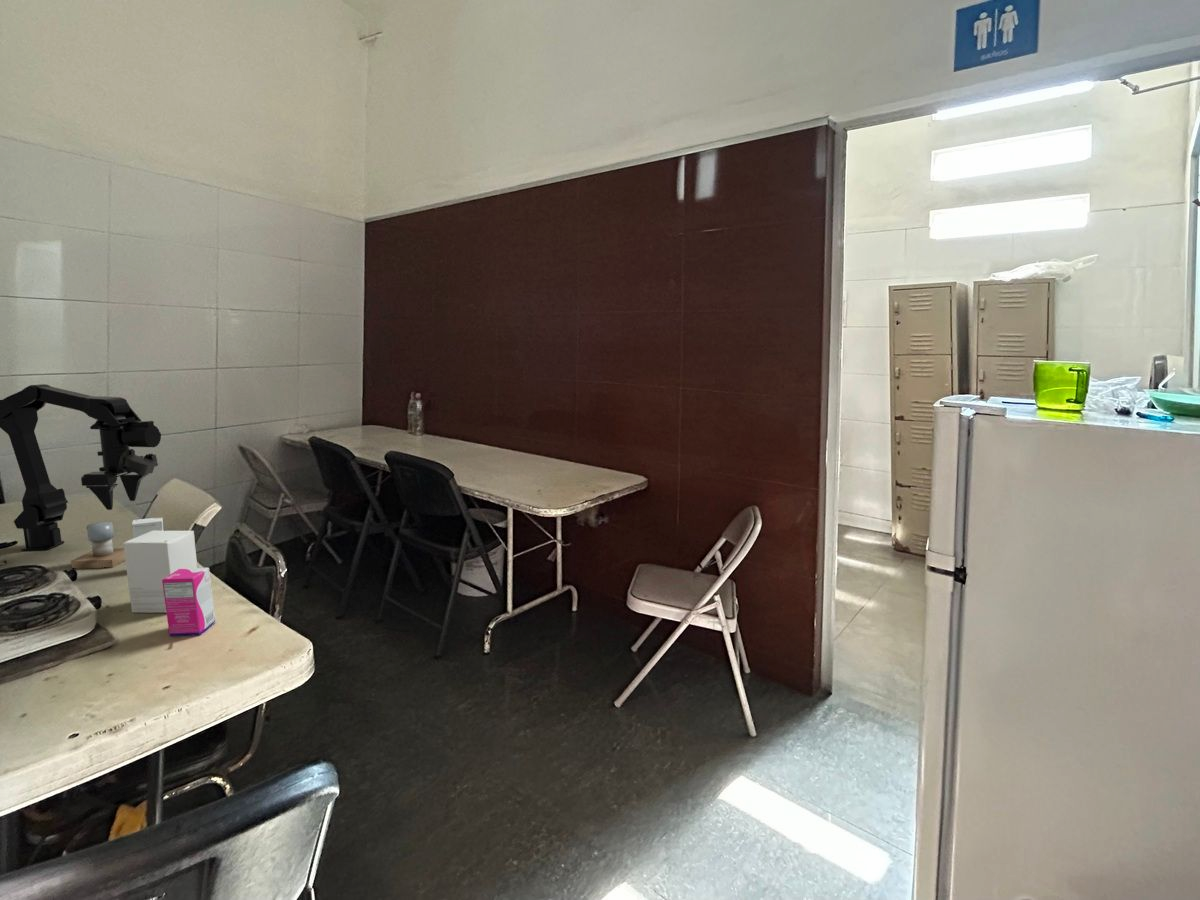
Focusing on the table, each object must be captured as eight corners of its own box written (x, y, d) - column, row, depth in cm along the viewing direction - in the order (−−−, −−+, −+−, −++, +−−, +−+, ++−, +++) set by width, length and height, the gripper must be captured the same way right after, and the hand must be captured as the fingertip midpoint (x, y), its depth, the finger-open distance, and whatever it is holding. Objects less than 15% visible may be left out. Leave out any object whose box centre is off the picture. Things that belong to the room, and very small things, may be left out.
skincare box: (135, 573, 148) (129, 524, 146) (136, 568, 152) (131, 519, 150) (166, 569, 151) (161, 520, 150) (167, 563, 155) (162, 516, 153)
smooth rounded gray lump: (88, 537, 155) (86, 523, 155) (114, 534, 158) (112, 520, 158) (88, 542, 151) (86, 528, 151) (114, 538, 154) (112, 525, 154)
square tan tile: (71, 568, 151) (68, 544, 150) (96, 556, 159) (93, 533, 158) (112, 567, 152) (109, 543, 151) (134, 555, 161) (132, 532, 160)
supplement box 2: (185, 623, 123) (179, 567, 121) (216, 622, 123) (211, 567, 121) (167, 636, 117) (161, 578, 115) (200, 636, 117) (194, 577, 116)
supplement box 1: (202, 596, 136) (195, 529, 133) (174, 613, 127) (167, 542, 124) (160, 595, 136) (153, 529, 133) (129, 613, 127) (121, 542, 124)
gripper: (125, 452, 153) (131, 514, 156) (169, 441, 171) (174, 496, 174) (76, 452, 152) (83, 514, 155) (125, 440, 170) (131, 496, 173)
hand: (121, 505), depth 164 cm, fingers open, 9 cm apart
